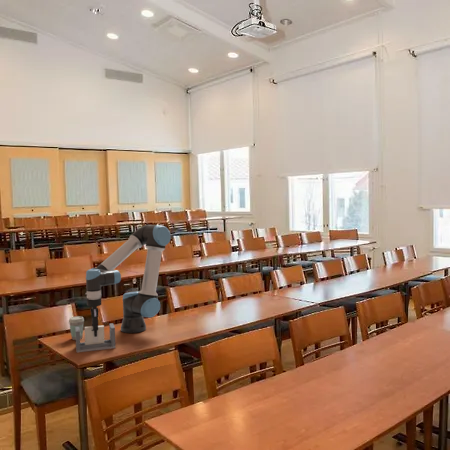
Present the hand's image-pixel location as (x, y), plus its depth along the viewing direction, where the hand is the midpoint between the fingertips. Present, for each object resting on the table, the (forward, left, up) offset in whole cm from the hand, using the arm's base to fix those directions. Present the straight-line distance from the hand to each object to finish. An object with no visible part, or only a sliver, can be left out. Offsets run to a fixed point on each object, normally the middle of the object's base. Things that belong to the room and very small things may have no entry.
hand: (95, 341), depth 260 cm
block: (+1, 0, -2) cm, 2 cm away
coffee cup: (+9, -21, -4) cm, 23 cm away
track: (0, 0, -4) cm, 4 cm away
